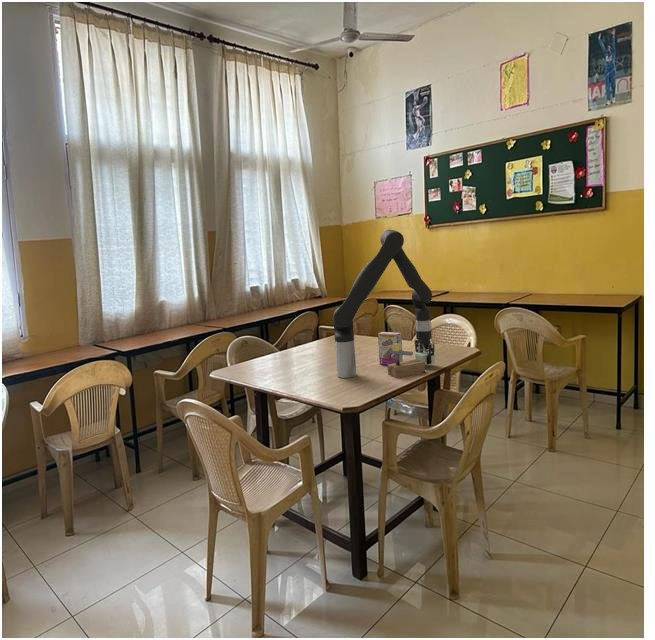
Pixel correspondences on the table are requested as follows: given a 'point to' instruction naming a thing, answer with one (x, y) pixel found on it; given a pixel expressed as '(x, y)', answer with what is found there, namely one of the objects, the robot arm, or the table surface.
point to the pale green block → (424, 357)
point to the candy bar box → (388, 347)
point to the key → (399, 352)
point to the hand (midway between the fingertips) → (425, 362)
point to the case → (406, 368)
